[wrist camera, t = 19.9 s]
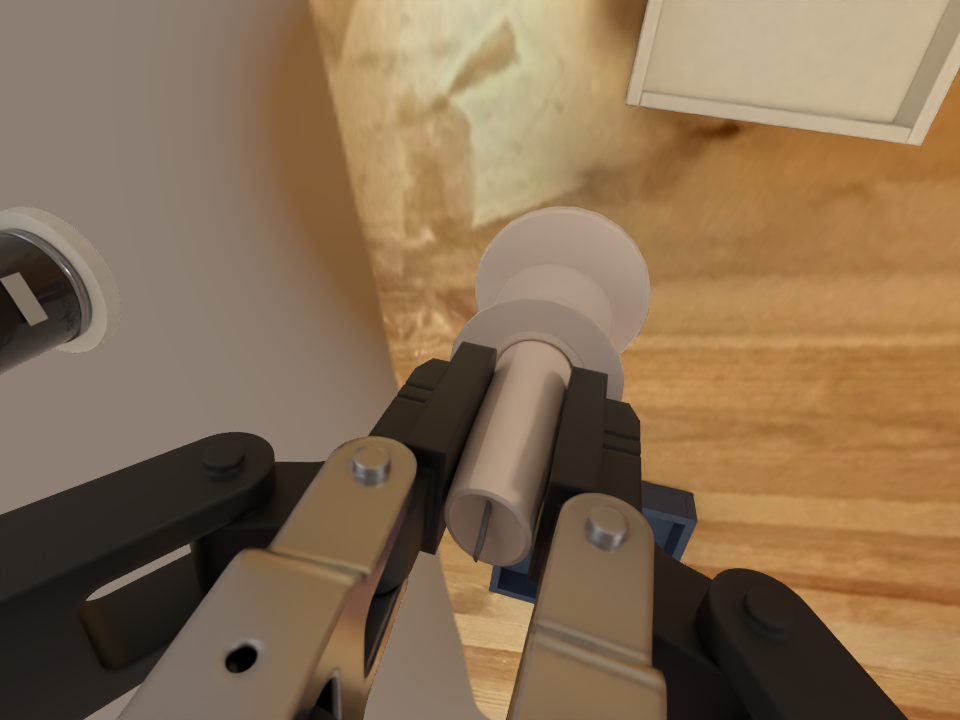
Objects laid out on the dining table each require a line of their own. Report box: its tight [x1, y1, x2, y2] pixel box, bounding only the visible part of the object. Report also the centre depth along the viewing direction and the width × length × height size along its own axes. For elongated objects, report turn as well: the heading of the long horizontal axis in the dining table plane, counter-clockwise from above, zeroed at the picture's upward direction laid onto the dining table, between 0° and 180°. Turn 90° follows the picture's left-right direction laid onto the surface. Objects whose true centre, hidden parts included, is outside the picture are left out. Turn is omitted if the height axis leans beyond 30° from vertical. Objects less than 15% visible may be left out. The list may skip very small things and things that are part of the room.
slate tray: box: [489, 481, 697, 604], centre depth 39 cm, size 12×12×3 cm
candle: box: [444, 206, 651, 566], centre depth 12 cm, size 5×5×10 cm
